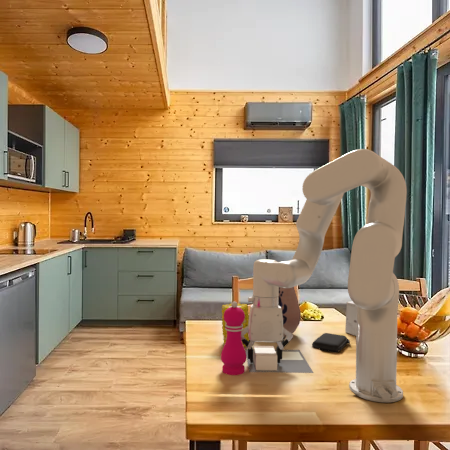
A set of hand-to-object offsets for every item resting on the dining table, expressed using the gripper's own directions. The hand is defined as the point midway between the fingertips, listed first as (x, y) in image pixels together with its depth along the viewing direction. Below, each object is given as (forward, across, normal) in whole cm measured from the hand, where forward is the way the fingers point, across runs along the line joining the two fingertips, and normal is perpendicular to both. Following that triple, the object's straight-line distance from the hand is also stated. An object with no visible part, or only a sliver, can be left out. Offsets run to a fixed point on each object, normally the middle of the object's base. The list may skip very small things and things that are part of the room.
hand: (264, 361), depth 114 cm
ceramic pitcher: (+2, +9, +35) cm, 36 cm away
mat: (+2, +4, +4) cm, 6 cm away
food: (+2, -8, +20) cm, 22 cm away
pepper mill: (+2, -9, -5) cm, 11 cm away
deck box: (+1, 0, 0) cm, 1 cm away
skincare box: (+2, +39, +36) cm, 53 cm away
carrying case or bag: (+2, +26, +20) cm, 33 cm away
